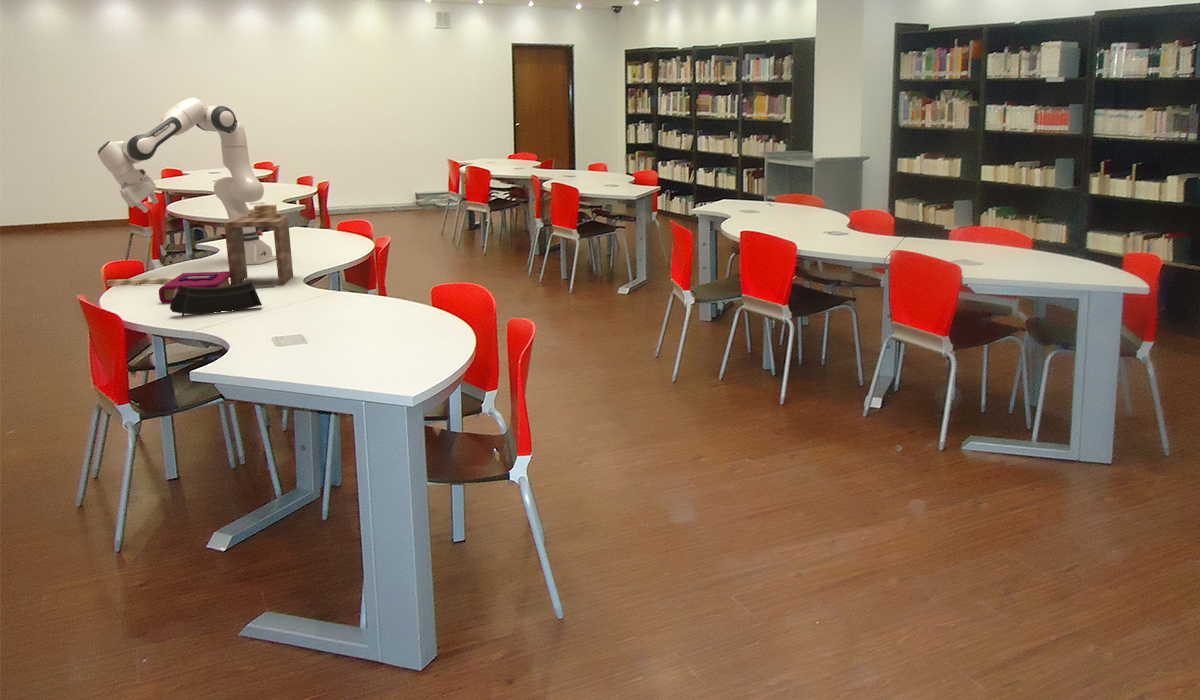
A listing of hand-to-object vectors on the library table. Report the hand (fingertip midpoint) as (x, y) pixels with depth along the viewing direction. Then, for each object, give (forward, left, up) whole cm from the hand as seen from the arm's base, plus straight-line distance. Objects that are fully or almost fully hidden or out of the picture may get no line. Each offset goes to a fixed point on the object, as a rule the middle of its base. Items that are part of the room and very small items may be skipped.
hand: (151, 207), depth 403 cm
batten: (+13, +5, -30) cm, 33 cm away
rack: (-11, +46, -30) cm, 56 cm away
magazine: (+40, +73, -30) cm, 89 cm away
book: (+20, +43, -31) cm, 56 cm away
